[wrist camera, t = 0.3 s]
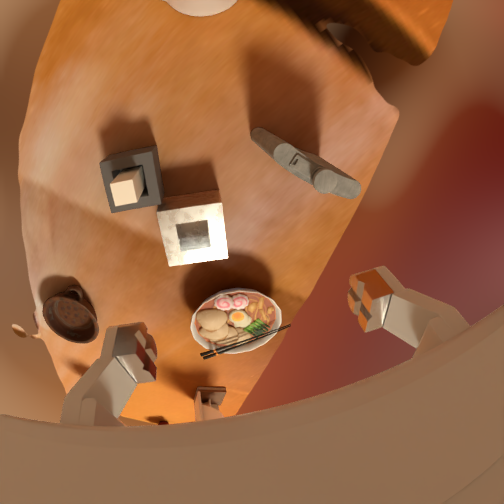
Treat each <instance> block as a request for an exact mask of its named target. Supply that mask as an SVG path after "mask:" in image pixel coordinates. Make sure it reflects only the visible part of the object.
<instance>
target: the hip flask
mask: <svg viewBox="0 0 504 504" xmlns="http://www.w3.org/2000/svg"><path fill="white" fill-rule="evenodd" d="M251 139H252V140H253V141H254V142H255V143H256V144H257V145H258V146H259V147H260V148H262V149H263V150H264V151H265V152H266V153H267V154H268V155H269V156H270V157H271V158H273V159H274V160H275V161H276V162H277V163H278V164H279V165H281V166H282V167H283V168H285V169H286V170H288V171H289V172H291V173H292V174H294V175H295V176H297V177H299V178H300V179H302V180H304V181H306V182H308V183H310V184H312V185H313V187H314V188H315V189H316V190H317V191H318V192H320V193H323V194H326V193H332V194H335V195H337V196H341V197H344V198H348V199H354V198H356V197H357V196H358V195H359V194H360V192H361V185H360V183H359V182H358V181H356V180H355V179H353V178H352V177H350V176H349V175H347V174H346V173H344V172H343V171H341V170H340V169H338V168H336V167H335V166H333V165H332V164H330V163H328V162H327V161H325V160H324V159H322V158H320V157H319V156H317V155H315V154H312V153H308V152H305V151H303V150H300V149H298V148H295V147H293V146H292V145H290V144H289V143H287V142H286V141H284V140H282V139H280V138H279V137H277V136H275V135H274V134H272V133H270V132H268V131H267V130H265V129H263V128H260V127H257V128H255V129H253V130H252V132H251Z"/></svg>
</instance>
